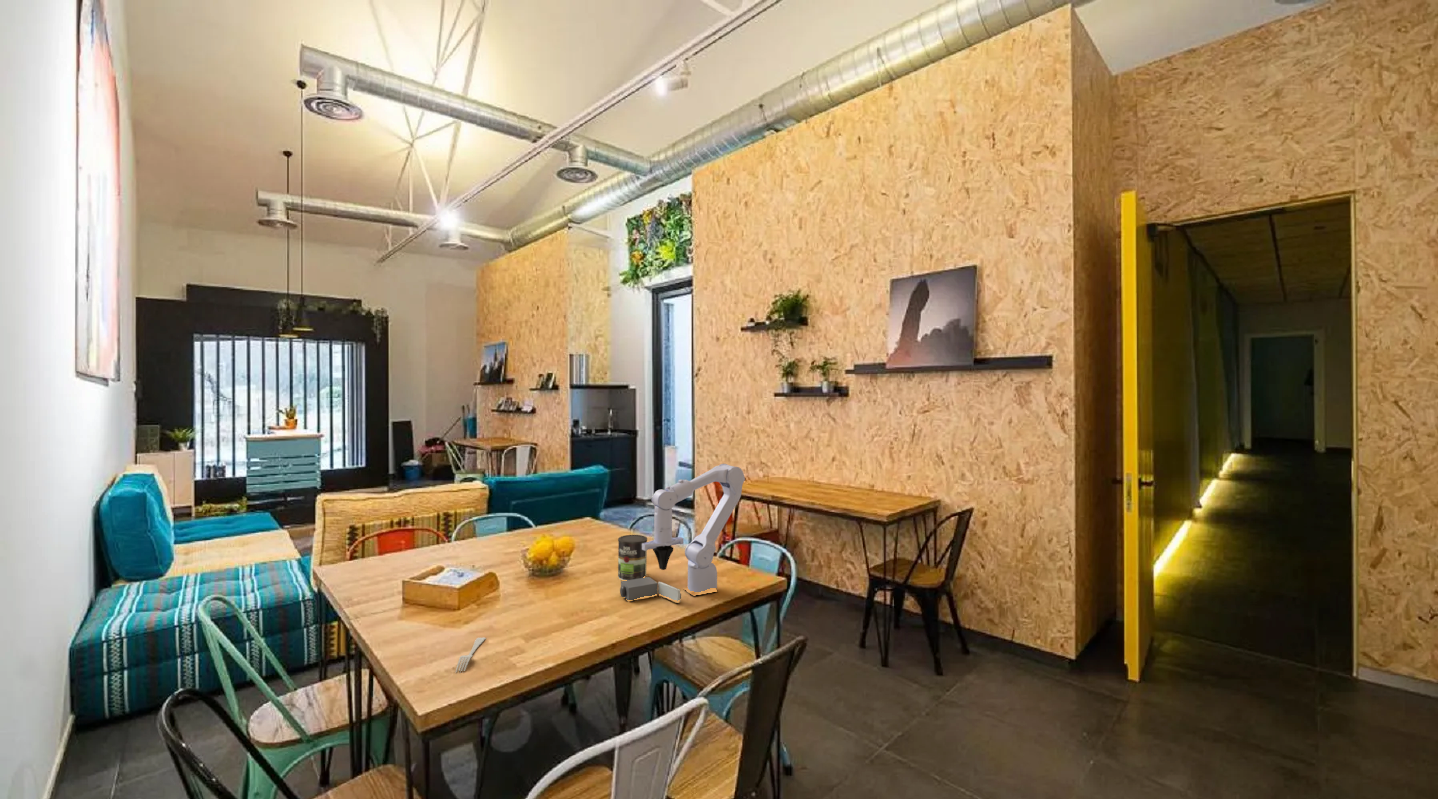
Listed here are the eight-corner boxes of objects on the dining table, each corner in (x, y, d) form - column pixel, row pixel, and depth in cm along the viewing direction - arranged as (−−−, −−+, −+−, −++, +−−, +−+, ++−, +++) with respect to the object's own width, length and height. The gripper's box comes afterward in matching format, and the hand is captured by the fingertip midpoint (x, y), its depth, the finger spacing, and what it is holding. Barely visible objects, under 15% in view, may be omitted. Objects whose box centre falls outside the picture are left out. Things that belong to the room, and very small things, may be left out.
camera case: (649, 590, 199) (649, 576, 199) (657, 596, 193) (657, 583, 193) (617, 595, 193) (617, 581, 193) (625, 602, 187) (625, 588, 187)
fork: (487, 646, 161) (487, 636, 161) (464, 675, 140) (465, 663, 141) (476, 647, 161) (477, 636, 161) (452, 676, 140) (452, 664, 140)
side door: (657, 595, 193) (657, 582, 193) (661, 594, 194) (661, 581, 194) (677, 604, 186) (677, 590, 186) (681, 603, 187) (681, 589, 187)
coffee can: (639, 583, 205) (639, 543, 205) (612, 580, 208) (613, 540, 208) (651, 574, 215) (651, 535, 215) (625, 571, 218) (625, 533, 218)
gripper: (649, 533, 184) (649, 576, 184) (688, 526, 192) (688, 568, 193) (638, 528, 190) (638, 570, 190) (677, 522, 198) (676, 562, 198)
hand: (662, 568), depth 192 cm, fingers closed
